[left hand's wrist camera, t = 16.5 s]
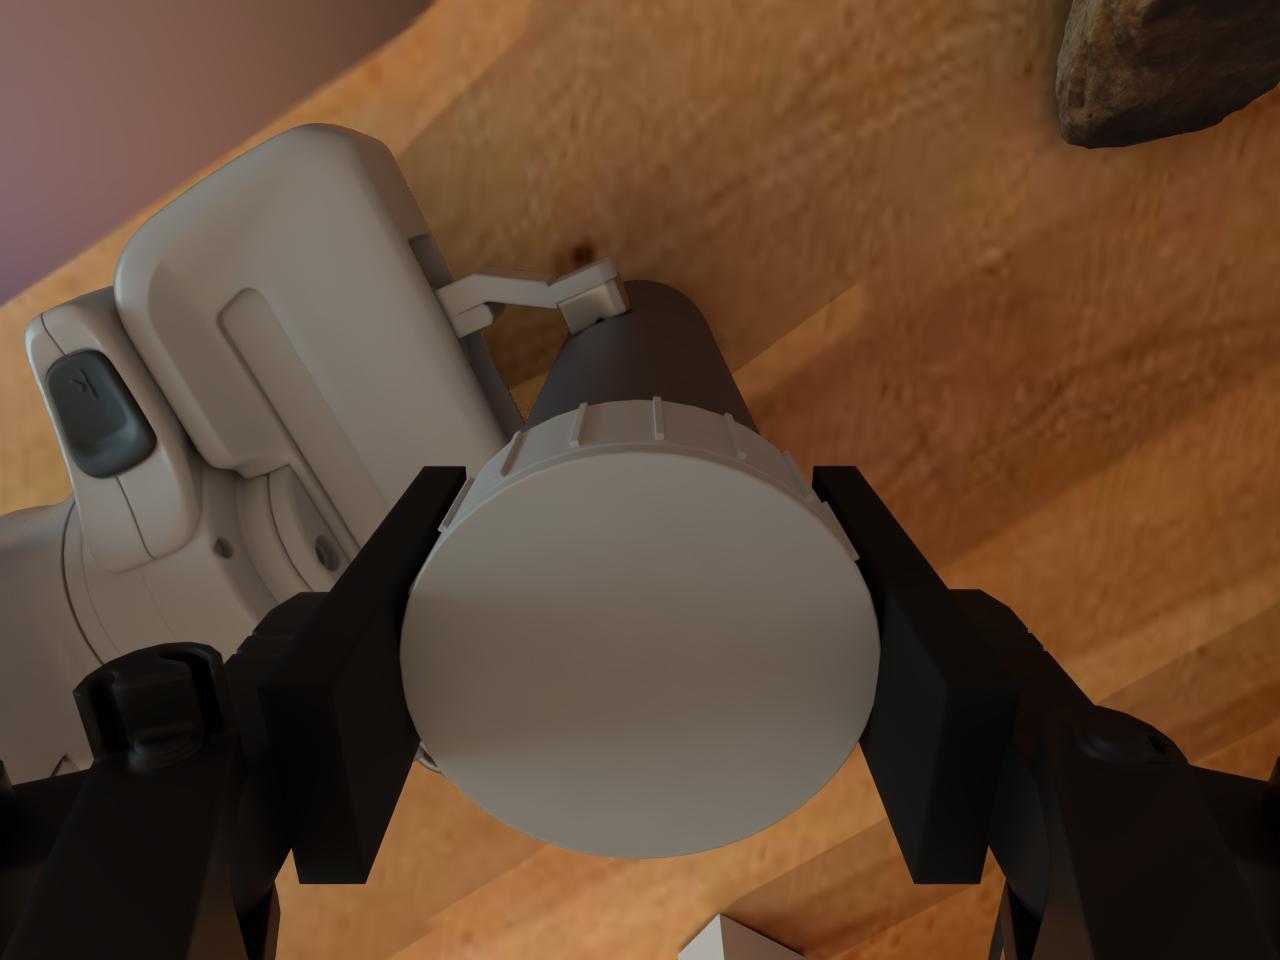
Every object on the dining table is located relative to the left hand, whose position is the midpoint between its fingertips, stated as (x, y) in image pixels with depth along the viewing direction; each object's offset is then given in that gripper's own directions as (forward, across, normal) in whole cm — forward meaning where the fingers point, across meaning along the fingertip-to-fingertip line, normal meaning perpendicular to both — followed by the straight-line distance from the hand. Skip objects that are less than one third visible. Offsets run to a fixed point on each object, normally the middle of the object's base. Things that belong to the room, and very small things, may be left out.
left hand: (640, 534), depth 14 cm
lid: (-4, 0, 0) cm, 4 cm away
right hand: (+9, -1, 0) cm, 9 cm away
